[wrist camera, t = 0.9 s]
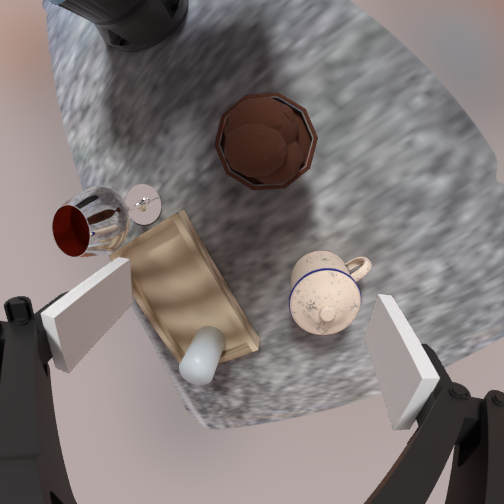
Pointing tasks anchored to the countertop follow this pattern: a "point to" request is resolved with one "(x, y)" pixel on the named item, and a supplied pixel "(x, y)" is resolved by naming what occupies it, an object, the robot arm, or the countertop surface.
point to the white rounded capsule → (202, 356)
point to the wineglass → (102, 219)
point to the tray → (184, 289)
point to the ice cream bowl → (266, 141)
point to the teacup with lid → (326, 292)
